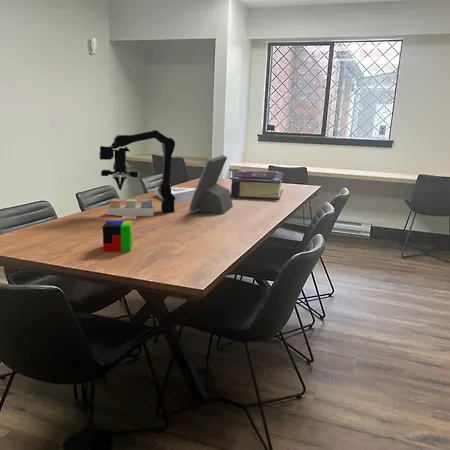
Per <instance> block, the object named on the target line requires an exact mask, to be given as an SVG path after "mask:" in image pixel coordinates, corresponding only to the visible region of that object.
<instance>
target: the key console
mask: <svg viewBox="0 0 450 450" xmlns="http://www.w3.org/2000/svg"><path fill="white" fill-rule="evenodd" d="M108 215H115V217H116V216H118V217H119V216H121V217H123V216H137V217H140V216H141V217H153V216H154V215H155V205H152V208H141V205H137V207H136V208H126V205H123V204H121V208H110V205H109V206H107V216H108Z"/></svg>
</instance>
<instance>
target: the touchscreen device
mask: <svg viewBox="0 0 450 450" xmlns="http://www.w3.org/2000/svg"><path fill="white" fill-rule="evenodd" d="M227 159H228V158H227V156H226V155H224V154H220V155H216V156H214V157H211V158H208V160H207V161H206V163H205V165H204V169H203V170H202V173H201V175H200V178H199V180H198V183H197V186H196V190H195V192H194V195H193V198H192V200H190V201H191V202H190V205H189V212H190V214H194V213H197V212H198V213H199V212H203V213H210V214H211V213H212V214H220V215H224V214H226V213H227V212H229V211H230V210H231V209H232V208H233V206H234V205H233V200H232V196H231V192H230V191H229V189H228V188H227V187H224V186H222V185H220V184H219V183H217V182H218V180H219V178H220V175H221V173H222V170H223V168H224V166H225V163H226V161H227Z"/></svg>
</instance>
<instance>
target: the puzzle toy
mask: <svg viewBox="0 0 450 450" xmlns="http://www.w3.org/2000/svg"><path fill="white" fill-rule="evenodd" d="M133 230H134V228H133V220H106V221H105V222H104V224H103V225H102V242H103V243H102V244H103V248H102V249H103V252H104V253H105V252H106V253H107V252H108V253H109V252H110V253H111V252H113V253H117V252H118V253H119V252H120V253H121V252H122V253H123V252H125V253H128V252H131V251H132V248H133V246H134V237H133V236H134V235H133Z"/></svg>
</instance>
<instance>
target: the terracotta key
mask: <svg viewBox="0 0 450 450" xmlns="http://www.w3.org/2000/svg"><path fill="white" fill-rule="evenodd" d="M121 205H122V199H119V198H118V199H116V198H115V199H114V198H113V199H110V200H109V206H110V208H121Z"/></svg>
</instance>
